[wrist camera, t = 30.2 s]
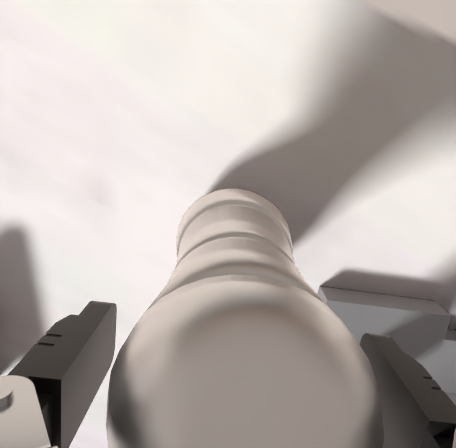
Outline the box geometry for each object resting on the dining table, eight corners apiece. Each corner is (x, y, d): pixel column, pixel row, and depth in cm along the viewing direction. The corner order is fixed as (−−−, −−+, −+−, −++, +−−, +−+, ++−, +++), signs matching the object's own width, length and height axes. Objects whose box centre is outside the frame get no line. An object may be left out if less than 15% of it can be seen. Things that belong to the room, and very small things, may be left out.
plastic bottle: (212, 162, 21) (37, 483, 2) (304, 214, 22) (799, 790, 3) (165, 247, 23) (-187, 895, 4) (253, 293, 24) (354, 1018, 4)
